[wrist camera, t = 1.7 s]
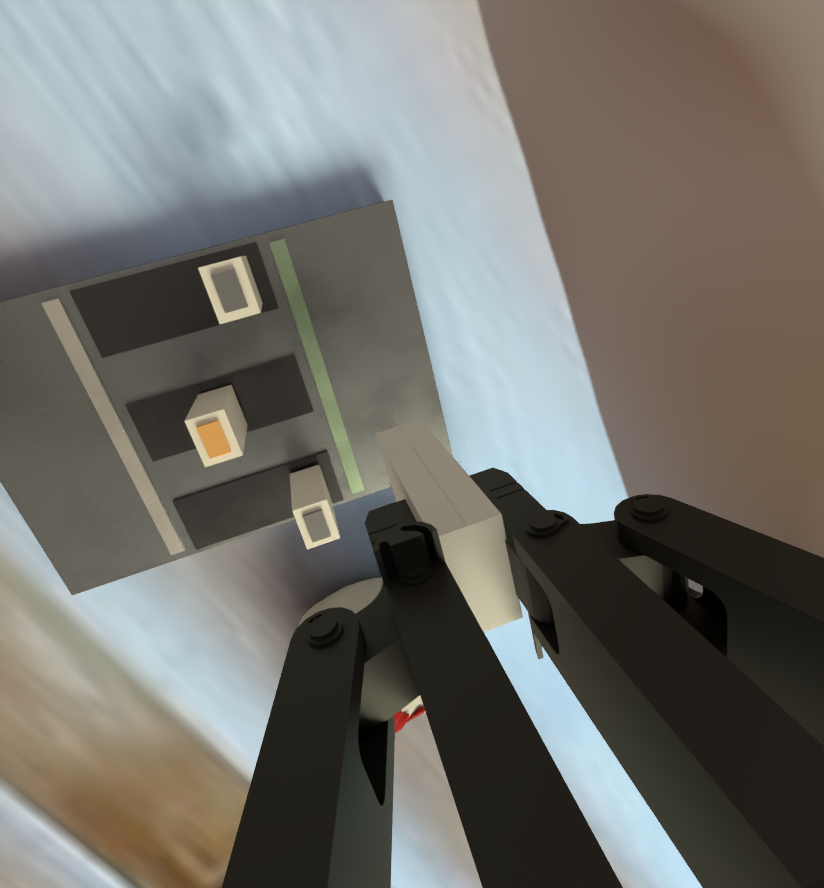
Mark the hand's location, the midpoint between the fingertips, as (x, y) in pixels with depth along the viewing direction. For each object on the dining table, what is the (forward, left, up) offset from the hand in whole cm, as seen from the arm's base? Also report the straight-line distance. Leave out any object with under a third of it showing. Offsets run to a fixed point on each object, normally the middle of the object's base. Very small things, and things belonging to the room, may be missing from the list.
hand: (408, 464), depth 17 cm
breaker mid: (-7, 0, -14) cm, 16 cm away
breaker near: (-4, +6, -14) cm, 16 cm away
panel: (-7, 0, -17) cm, 18 cm away
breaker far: (-4, -6, -14) cm, 16 cm away
